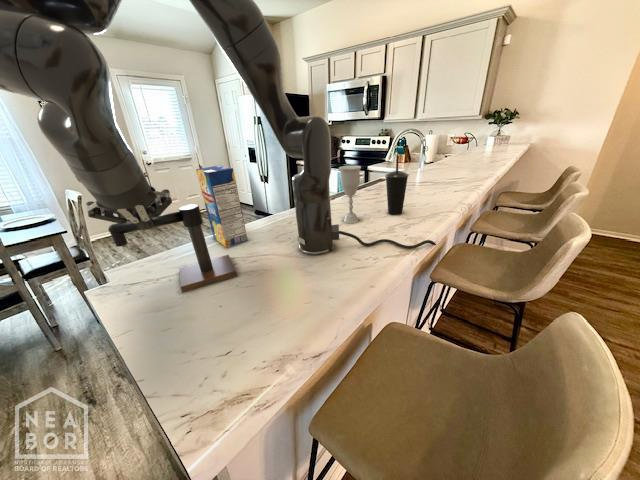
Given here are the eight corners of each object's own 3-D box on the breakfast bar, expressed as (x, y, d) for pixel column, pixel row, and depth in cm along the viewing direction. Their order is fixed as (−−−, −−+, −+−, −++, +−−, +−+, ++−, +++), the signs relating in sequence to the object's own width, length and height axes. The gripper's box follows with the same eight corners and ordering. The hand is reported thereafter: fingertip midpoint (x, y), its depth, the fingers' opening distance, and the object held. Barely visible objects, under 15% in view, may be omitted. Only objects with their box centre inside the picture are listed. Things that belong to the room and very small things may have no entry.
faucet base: (229, 259, 71) (218, 213, 66) (237, 276, 63) (225, 225, 57) (181, 272, 66) (164, 224, 61) (182, 292, 58) (163, 239, 53)
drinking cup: (383, 210, 98) (384, 154, 90) (404, 209, 97) (407, 153, 89) (384, 217, 92) (386, 157, 83) (407, 216, 90) (411, 156, 82)
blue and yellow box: (226, 247, 78) (208, 172, 69) (213, 237, 86) (195, 169, 77) (248, 240, 82) (233, 168, 73) (233, 231, 90) (218, 165, 80)
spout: (203, 224, 62) (197, 203, 60) (205, 229, 59) (199, 207, 56) (117, 242, 55) (107, 219, 53) (113, 249, 52) (103, 225, 50)
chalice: (364, 218, 92) (364, 165, 84) (356, 225, 87) (355, 169, 79) (346, 216, 95) (344, 165, 88) (337, 222, 90) (334, 169, 83)
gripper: (156, 146, 42) (178, 203, 57) (49, 157, 37) (104, 217, 52) (167, 185, 40) (186, 233, 55) (54, 202, 34) (110, 251, 50)
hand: (146, 225), depth 53 cm, fingers closed
